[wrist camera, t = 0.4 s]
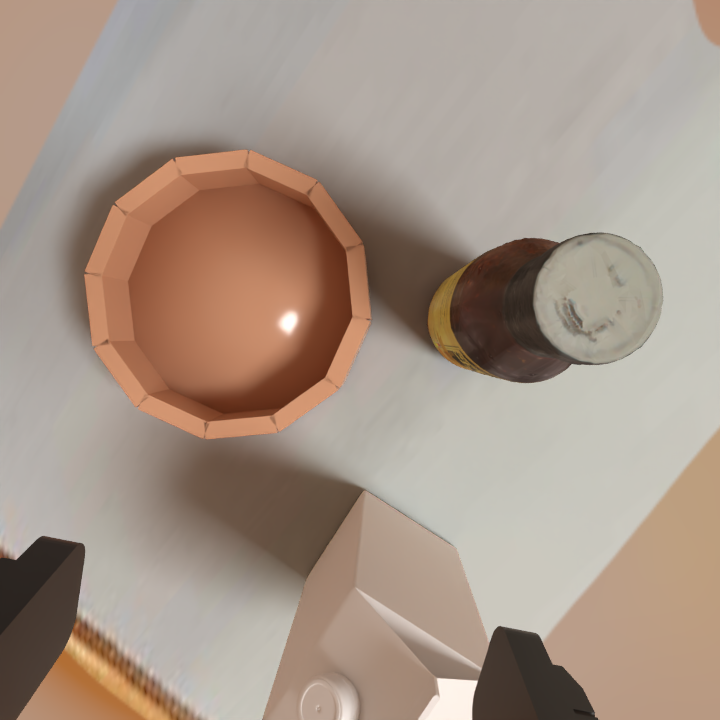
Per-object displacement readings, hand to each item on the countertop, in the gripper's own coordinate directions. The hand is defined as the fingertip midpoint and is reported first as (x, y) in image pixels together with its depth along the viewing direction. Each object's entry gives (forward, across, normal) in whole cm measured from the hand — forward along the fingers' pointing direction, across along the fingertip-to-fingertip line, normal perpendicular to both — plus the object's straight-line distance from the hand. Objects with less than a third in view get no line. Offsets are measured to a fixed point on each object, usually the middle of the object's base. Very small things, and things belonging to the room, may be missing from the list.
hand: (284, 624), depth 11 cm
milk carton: (+25, -6, +13) cm, 29 cm away
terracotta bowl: (+28, +6, -2) cm, 29 cm away
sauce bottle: (+27, -9, -4) cm, 29 cm away
